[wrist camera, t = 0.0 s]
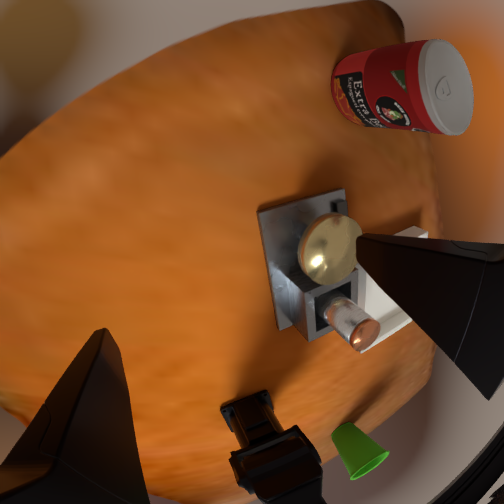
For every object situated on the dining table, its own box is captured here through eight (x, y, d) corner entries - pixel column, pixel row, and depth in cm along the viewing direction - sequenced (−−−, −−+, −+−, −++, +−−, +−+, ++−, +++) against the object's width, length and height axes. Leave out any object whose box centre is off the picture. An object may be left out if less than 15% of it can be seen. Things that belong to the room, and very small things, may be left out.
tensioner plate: (345, 296, 33) (371, 317, 28) (277, 327, 30) (298, 355, 26) (340, 187, 27) (374, 198, 23) (256, 211, 24) (282, 228, 20)
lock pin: (326, 296, 30) (378, 340, 23) (303, 307, 30) (352, 356, 22) (325, 272, 29) (382, 315, 22) (300, 283, 28) (354, 331, 21)
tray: (404, 310, 39) (415, 318, 37) (350, 343, 37) (361, 353, 34) (413, 225, 33) (428, 231, 31) (351, 252, 30) (366, 261, 28)
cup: (362, 421, 51) (391, 454, 42) (328, 446, 50) (355, 481, 41) (355, 410, 47) (388, 448, 37) (316, 438, 46) (346, 478, 36)
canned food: (313, 83, 22) (411, 69, 12) (357, 41, 22) (446, 23, 12) (360, 142, 26) (453, 158, 16) (395, 96, 25) (481, 100, 16)
